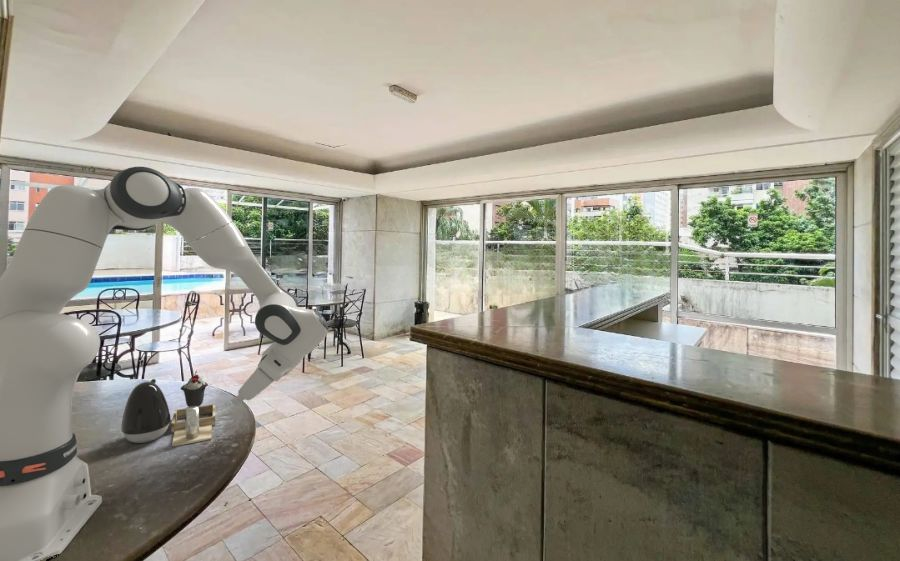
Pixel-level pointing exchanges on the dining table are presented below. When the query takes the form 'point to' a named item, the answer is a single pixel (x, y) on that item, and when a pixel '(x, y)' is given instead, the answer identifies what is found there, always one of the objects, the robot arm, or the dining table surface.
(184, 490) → the dining table surface
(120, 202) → the robot arm
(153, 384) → the pump dispenser
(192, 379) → the sundae
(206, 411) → the wooden frame tray
